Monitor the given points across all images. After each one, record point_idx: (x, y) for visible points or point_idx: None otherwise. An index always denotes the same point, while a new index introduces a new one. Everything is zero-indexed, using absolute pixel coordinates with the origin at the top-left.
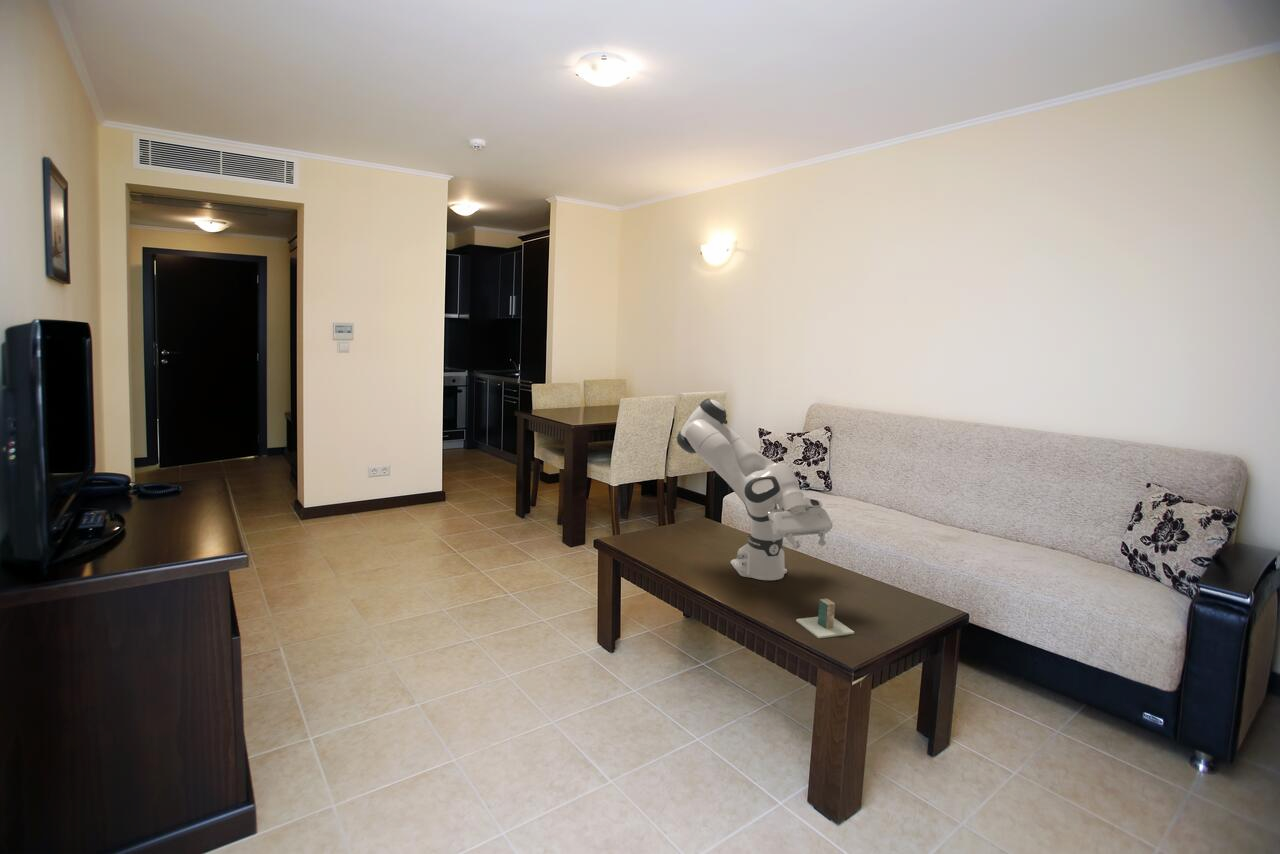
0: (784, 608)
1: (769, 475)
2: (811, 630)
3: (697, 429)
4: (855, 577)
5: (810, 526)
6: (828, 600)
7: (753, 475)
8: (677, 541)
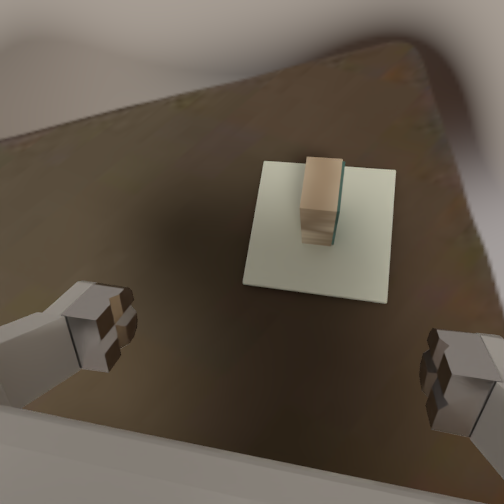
0: (351, 425)
1: None
2: (392, 211)
3: None
4: None
5: (71, 490)
6: (309, 190)
7: None
8: None
